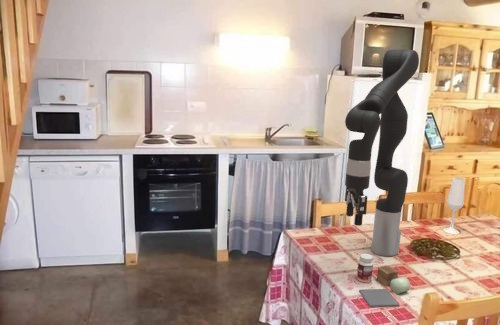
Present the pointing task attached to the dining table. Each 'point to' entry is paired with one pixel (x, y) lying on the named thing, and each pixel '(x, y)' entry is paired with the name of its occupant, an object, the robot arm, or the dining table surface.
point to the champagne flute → (455, 200)
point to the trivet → (378, 297)
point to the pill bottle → (365, 268)
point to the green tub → (400, 285)
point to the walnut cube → (386, 275)
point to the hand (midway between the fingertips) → (353, 220)
